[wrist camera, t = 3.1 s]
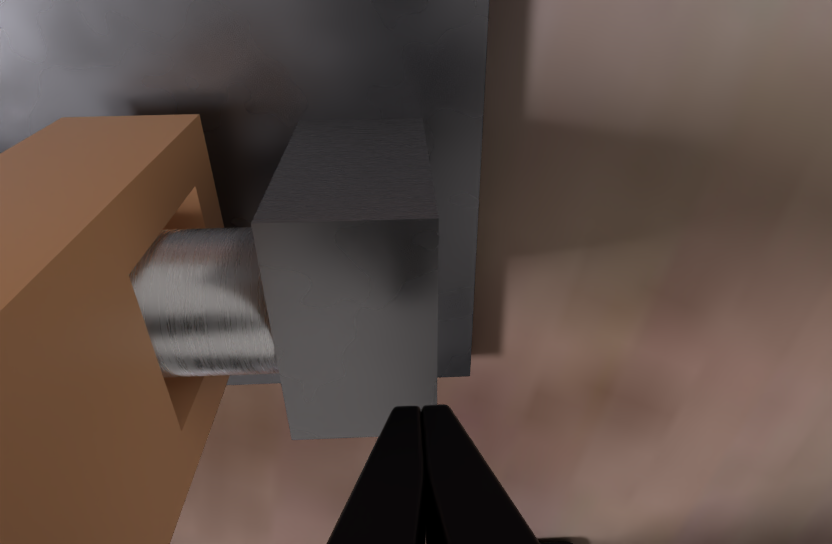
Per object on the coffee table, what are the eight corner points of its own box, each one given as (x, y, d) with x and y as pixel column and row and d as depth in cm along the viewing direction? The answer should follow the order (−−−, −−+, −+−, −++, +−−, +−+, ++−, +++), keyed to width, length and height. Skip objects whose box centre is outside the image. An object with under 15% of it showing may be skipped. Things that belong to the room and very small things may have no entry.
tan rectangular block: (199, 114, 12) (-219, 525, 4) (246, 328, 16) (73, 813, 7) (62, 117, 12) (-669, 545, 4) (137, 332, 15) (-170, 827, 7)
